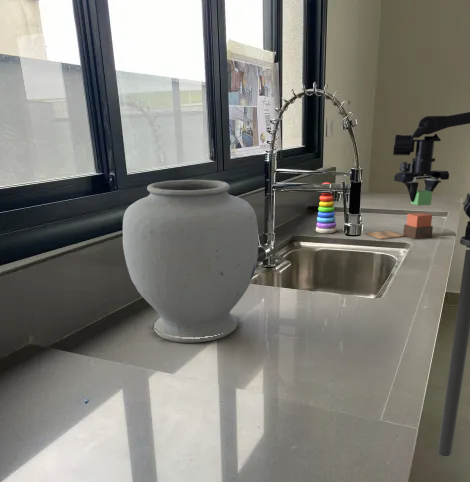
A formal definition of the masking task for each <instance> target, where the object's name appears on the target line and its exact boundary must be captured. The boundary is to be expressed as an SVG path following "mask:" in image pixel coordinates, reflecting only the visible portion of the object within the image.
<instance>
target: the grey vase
mask: <svg viewBox="0 0 470 482" xmlns="http://www.w3.org/2000/svg"><path fill="white" fill-rule="evenodd" d="M146 190H147V191H148V192H149V194H148V195H147V196H144V197H143V198H140V199H138V200H136V201H134V202H133V203H132V204H130V205H129V206H128V207H127V208H126V209H125V212H124V214H123V218H122V249H123V254H124V260H125V264H126V268H127V272H128V275H129V277H130V279H131V282H132V283H133V285H134V288H135V289H136V290H137V292H138V293H139V295H140V296H141V297H142V298H143V299H144V300H145V301H146V302H147V304H149V305H150V306H151V308H153V309H154V311H156V312H157V313H158V315H159V316H160V317H158V319H157V320H156V321H155V323H154V326H153V329H154V332H155V333H156V334H157V336H158V337H161V338H162V339H164V340H167V341H170V342H174V343H183V344H184V343H187V344H191V343H192V344H195V343H205V342H210V341H216V340H219V339H222V338H225V337H227V336H229V335H231V334H232V333H233V332H234V331H236V329H237V327H238V320H237V318H236V317H235V316H234V315H233V314H232V313H231V311H232V310H233V309H234V308H235V306H237V304H238V303H239V301H241V299H242V298H243V296H244V295H245V294H246V291H247V290H248V289H249V286H250V284H251V282H252V279H253V277H254V274H255V272H256V268H257V264H258V263H257V262H258V257H259V227H258V219H257V214H256V212H255V209H254V208H253V207H252V205H251V204H250V202H248V201H247V200H245V199H244V198H240V197H239V196H236V195H231V194H229V193H228V191H229V190H230V184H229V183H227V182H226V181H221V180H209V179H175V180H174V179H172V180H163V181H159V182H158V181H157V182H153V183H151V184H148V185H147V187H146ZM155 328H156V329H157V330H158V331H160V332H162V333H164V334H167V335H172V336H179V337H194V338H195V337H205V336H213V337H208V338H200V339H182V338H175V337H170V336H167V335H164V334H162V333H160V332H158V331H157V330H156V329H155ZM222 333H223V334H222ZM218 334H220V335H218ZM214 335H217V336H214Z"/></svg>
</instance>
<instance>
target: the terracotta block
mask: <svg viewBox="0 0 470 482" xmlns="http://www.w3.org/2000/svg"><path fill="white" fill-rule="evenodd" d="M432 221H433V215H432V214H430V213H426V212H422V211H421V212H412V213H407V216H406V224H407V225H409V226H413V227H416V228H418V227H428V226H432Z"/></svg>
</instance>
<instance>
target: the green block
mask: <svg viewBox="0 0 470 482" xmlns="http://www.w3.org/2000/svg"><path fill="white" fill-rule="evenodd" d="M432 198H433V192H431V191H427V190H425V189H417V192H416V196H415V200H414V202H411V201H410V204H412V205H415V206H432Z"/></svg>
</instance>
